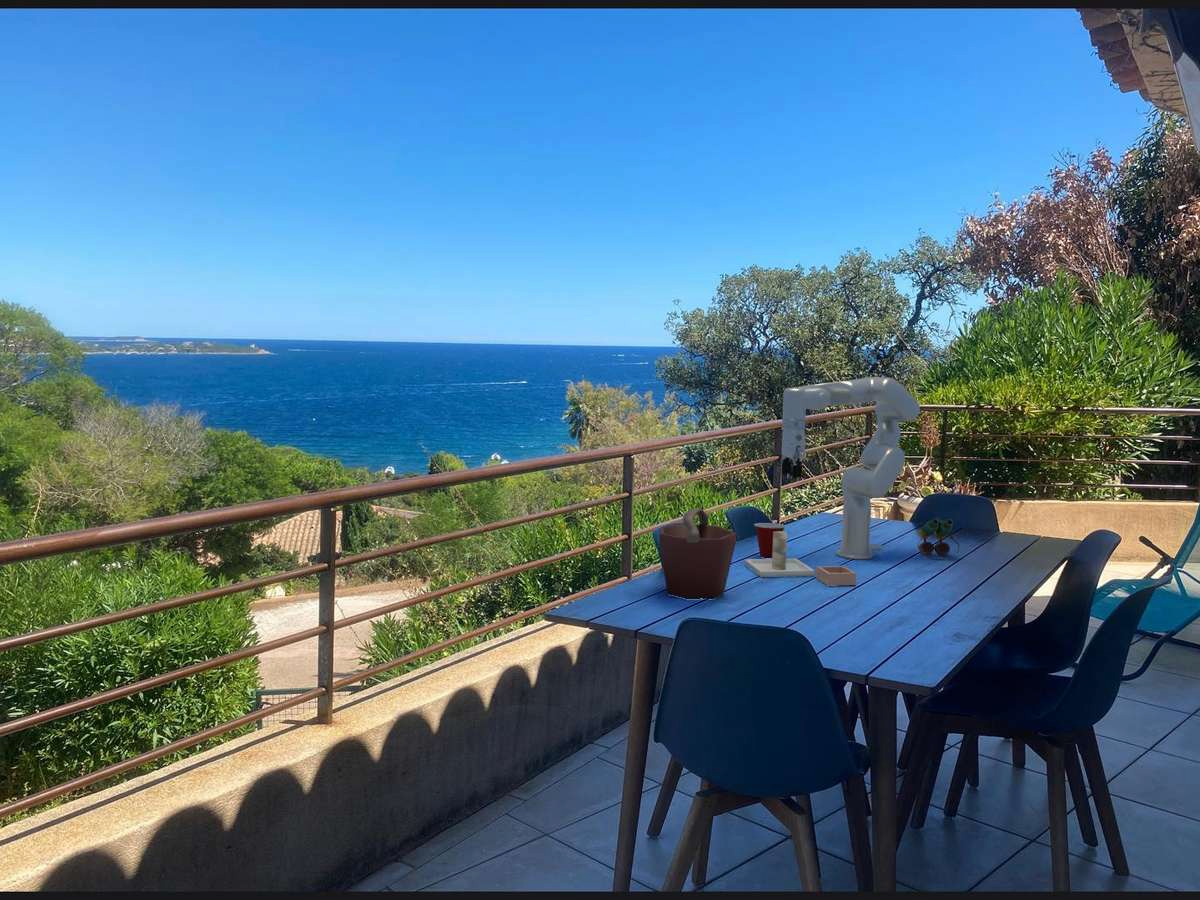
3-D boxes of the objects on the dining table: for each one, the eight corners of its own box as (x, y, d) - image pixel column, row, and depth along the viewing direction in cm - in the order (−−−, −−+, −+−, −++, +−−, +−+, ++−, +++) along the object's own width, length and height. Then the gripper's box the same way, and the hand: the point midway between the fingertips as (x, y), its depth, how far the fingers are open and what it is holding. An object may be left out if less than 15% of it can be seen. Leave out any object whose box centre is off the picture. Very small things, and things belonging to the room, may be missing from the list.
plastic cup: (782, 554, 292) (783, 521, 291) (786, 561, 281) (787, 527, 280) (751, 553, 293) (752, 520, 292) (754, 560, 282) (755, 526, 281)
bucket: (709, 609, 226) (711, 520, 223) (639, 596, 238) (641, 511, 235) (742, 589, 247) (745, 507, 244) (677, 577, 259) (679, 499, 256)
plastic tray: (795, 564, 278) (795, 558, 278) (814, 576, 263) (814, 570, 262) (744, 565, 276) (744, 559, 275) (760, 577, 260) (760, 571, 260)
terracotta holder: (842, 578, 261) (843, 565, 261) (855, 585, 252) (856, 573, 252) (816, 578, 260) (816, 566, 260) (827, 586, 251) (828, 573, 251)
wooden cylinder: (782, 566, 272) (784, 531, 270) (787, 570, 267) (789, 533, 266) (770, 566, 271) (771, 531, 270) (774, 570, 267) (776, 534, 265)
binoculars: (954, 566, 292) (950, 526, 299) (967, 554, 280) (962, 513, 286) (914, 564, 294) (910, 524, 300) (925, 552, 281) (921, 511, 287)
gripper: (814, 426, 267) (812, 478, 269) (794, 422, 284) (792, 471, 286) (792, 426, 266) (790, 479, 267) (773, 422, 283) (771, 471, 284)
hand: (791, 475), depth 277 cm, fingers open, 9 cm apart
